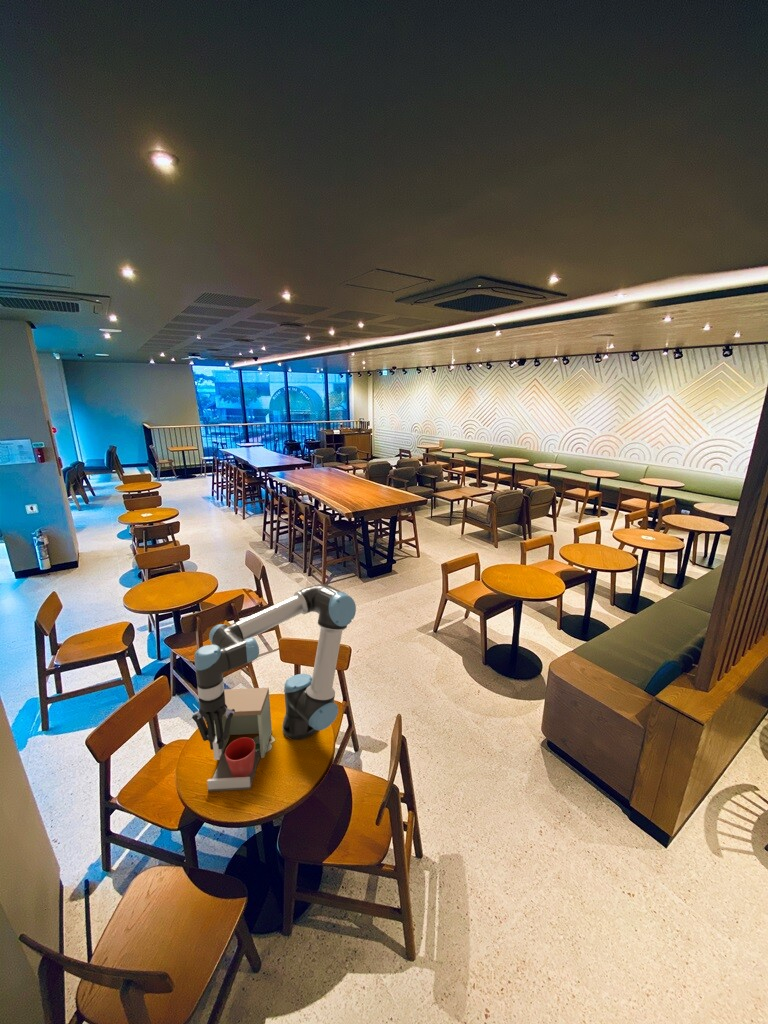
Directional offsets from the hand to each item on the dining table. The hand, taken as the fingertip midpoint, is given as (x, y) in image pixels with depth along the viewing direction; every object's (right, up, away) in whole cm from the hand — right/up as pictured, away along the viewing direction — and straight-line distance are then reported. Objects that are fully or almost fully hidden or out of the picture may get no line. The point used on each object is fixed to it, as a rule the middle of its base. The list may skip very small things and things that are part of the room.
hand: (218, 756), depth 130 cm
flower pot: (+2, -16, +17) cm, 24 cm away
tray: (-1, -17, +17) cm, 24 cm away
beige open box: (-2, -14, +30) cm, 33 cm away
